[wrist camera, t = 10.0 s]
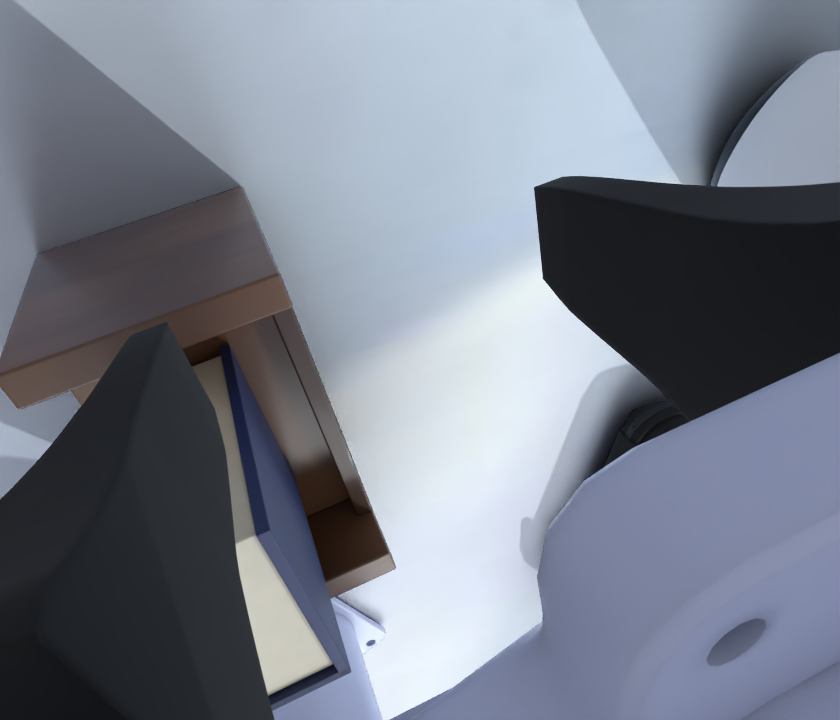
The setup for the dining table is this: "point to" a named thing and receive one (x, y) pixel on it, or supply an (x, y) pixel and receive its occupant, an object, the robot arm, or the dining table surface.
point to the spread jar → (788, 131)
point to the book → (273, 545)
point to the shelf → (199, 348)
